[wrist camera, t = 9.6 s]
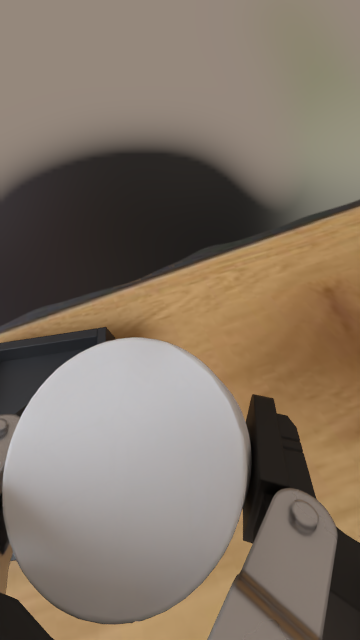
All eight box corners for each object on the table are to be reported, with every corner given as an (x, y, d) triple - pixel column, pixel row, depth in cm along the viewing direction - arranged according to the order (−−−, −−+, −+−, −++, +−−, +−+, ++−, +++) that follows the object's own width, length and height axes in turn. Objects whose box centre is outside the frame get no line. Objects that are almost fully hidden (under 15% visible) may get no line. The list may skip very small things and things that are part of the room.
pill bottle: (120, 403, 15) (-8, 343, 6) (214, 381, 15) (224, 287, 6) (132, 524, 12) (-58, 725, 3) (246, 495, 12) (345, 622, 4)
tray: (116, 339, 26) (106, 326, 23) (118, 534, 19) (103, 549, 16) (-24, 360, 26) (-50, 350, 23) (-73, 559, 19) (-119, 577, 16)
